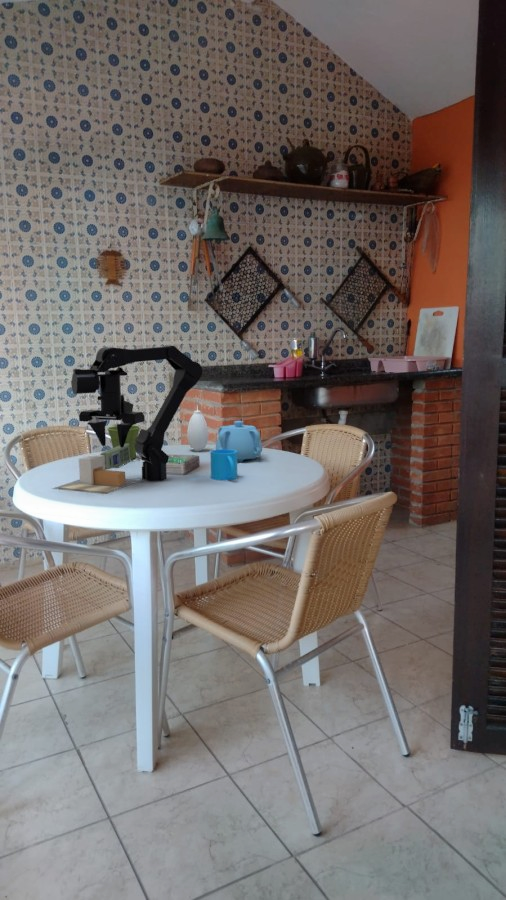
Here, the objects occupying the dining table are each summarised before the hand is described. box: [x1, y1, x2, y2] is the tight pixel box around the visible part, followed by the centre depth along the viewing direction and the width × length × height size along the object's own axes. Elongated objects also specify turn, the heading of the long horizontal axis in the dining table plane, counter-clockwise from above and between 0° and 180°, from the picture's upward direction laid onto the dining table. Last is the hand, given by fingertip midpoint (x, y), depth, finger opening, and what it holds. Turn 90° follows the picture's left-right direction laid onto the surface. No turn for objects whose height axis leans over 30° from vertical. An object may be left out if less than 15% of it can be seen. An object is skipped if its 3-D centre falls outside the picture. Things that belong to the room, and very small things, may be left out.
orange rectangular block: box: [93, 469, 126, 486], centre depth 188 cm, size 12×4×4 cm, turn 68°
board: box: [52, 478, 141, 495], centre depth 187 cm, size 18×18×1 cm
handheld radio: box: [99, 443, 131, 470], centre depth 215 cm, size 7×3×25 cm
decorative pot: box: [215, 420, 263, 463], centre depth 229 cm, size 16×16×14 cm
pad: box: [58, 482, 120, 494], centre depth 182 cm, size 16×6×1 cm, turn 68°
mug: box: [210, 449, 238, 481], centre depth 198 cm, size 12×8×8 cm
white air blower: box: [186, 403, 209, 452], centre depth 245 cm, size 8×8×18 cm
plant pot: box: [106, 424, 141, 460], centre depth 231 cm, size 12×12×11 cm
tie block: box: [78, 454, 105, 484], centre depth 190 cm, size 4×7×7 cm, turn 158°
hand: (112, 446), depth 186 cm, fingers open, 6 cm apart
